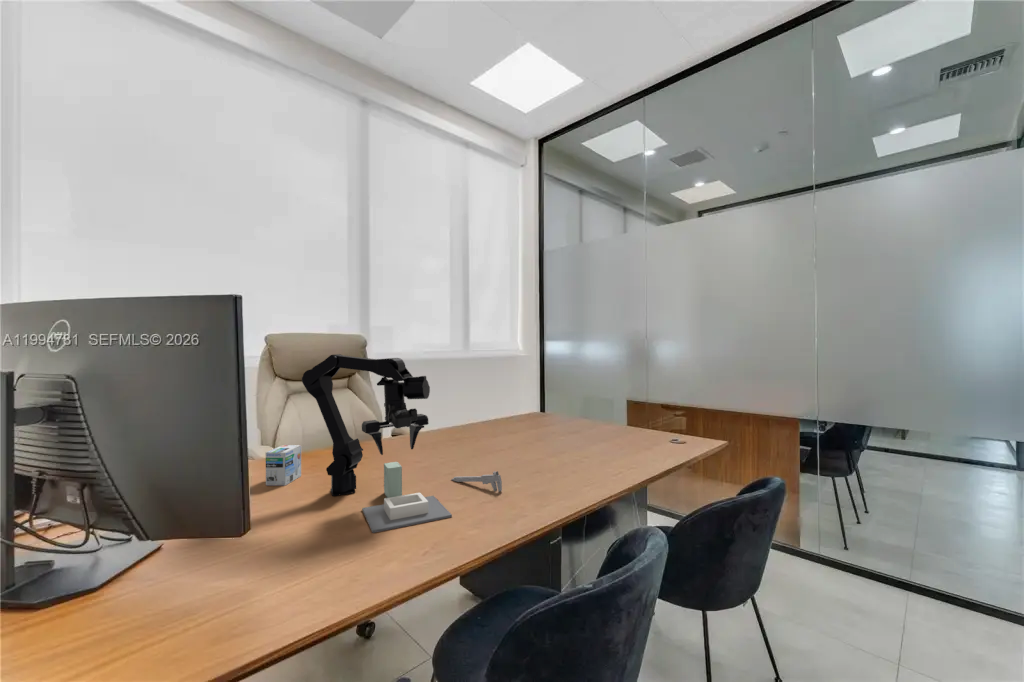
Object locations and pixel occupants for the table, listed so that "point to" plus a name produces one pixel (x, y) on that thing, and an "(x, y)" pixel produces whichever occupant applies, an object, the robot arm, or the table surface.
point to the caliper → (483, 480)
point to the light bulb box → (283, 465)
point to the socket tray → (404, 512)
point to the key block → (392, 479)
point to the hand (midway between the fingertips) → (397, 451)
